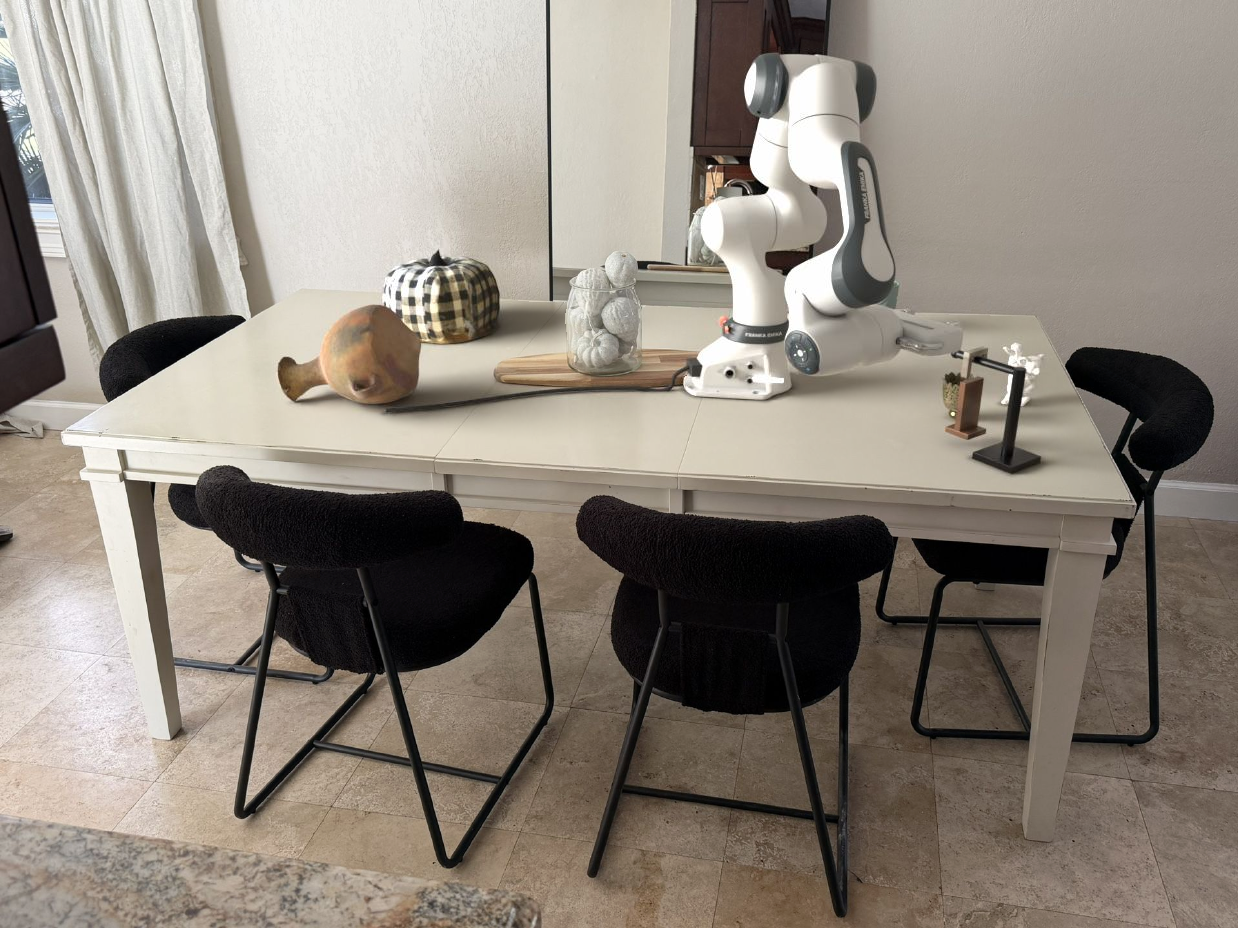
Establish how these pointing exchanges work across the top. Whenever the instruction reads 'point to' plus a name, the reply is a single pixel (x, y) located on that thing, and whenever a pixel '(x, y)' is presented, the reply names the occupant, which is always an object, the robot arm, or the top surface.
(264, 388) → the top surface
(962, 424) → the hanger
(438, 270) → the decorative pumpkin
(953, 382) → the cup
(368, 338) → the jug
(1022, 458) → the stand
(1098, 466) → the top surface
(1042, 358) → the white figurine
